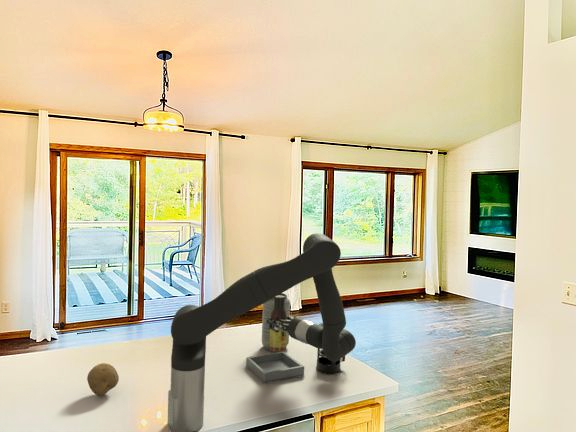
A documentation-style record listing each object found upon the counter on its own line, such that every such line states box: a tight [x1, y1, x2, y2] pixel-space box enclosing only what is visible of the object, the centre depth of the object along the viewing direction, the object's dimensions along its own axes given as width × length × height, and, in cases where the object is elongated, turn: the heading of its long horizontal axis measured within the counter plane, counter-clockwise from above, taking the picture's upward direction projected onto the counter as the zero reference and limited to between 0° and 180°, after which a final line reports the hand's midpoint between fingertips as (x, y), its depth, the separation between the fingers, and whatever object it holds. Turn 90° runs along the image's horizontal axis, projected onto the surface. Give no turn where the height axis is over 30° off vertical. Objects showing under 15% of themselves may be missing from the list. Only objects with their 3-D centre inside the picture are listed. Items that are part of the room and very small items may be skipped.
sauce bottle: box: [270, 295, 287, 353], centre depth 153 cm, size 6×6×20 cm
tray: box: [245, 351, 305, 385], centre depth 155 cm, size 16×16×4 cm
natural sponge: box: [86, 363, 120, 397], centre depth 132 cm, size 9×9×10 cm
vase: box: [261, 292, 291, 352], centre depth 178 cm, size 12×12×23 cm
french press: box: [315, 322, 346, 376], centre depth 158 cm, size 12×9×23 cm
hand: (275, 318), depth 155 cm, fingers closed on sauce bottle, 6 cm apart
